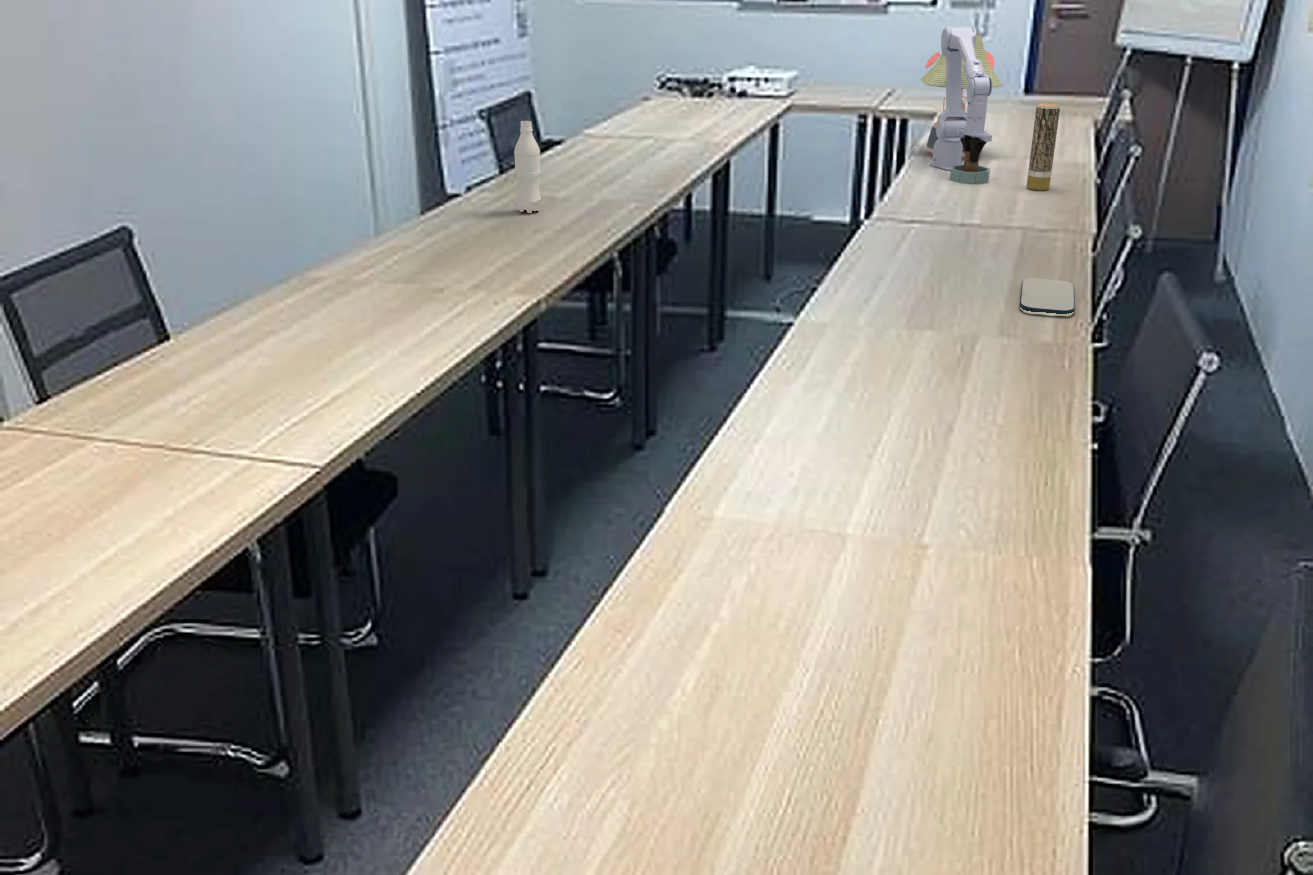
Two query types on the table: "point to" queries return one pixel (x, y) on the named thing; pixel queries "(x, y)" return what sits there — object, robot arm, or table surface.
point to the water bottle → (527, 165)
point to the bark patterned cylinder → (1043, 146)
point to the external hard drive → (1047, 296)
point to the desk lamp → (938, 79)
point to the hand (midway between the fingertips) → (971, 161)
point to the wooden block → (969, 163)
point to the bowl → (969, 175)
